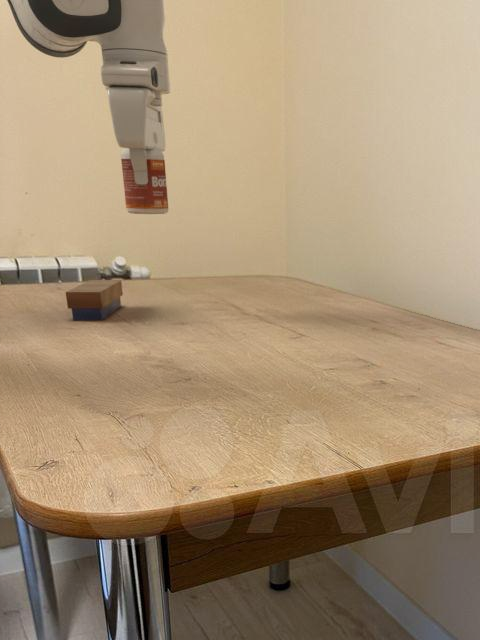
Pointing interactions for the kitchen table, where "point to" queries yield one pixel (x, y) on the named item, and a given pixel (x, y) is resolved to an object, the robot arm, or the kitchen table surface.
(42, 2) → the robot arm
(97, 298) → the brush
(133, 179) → the pill bottle
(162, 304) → the kitchen table surface
